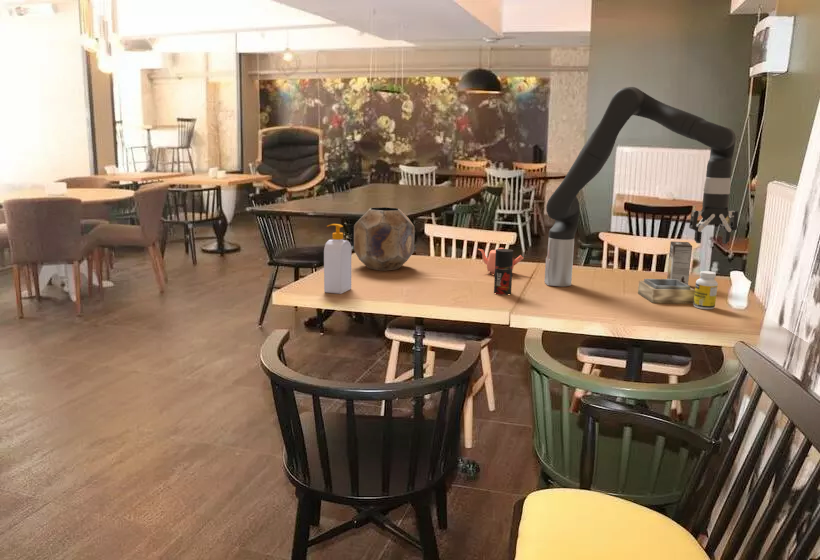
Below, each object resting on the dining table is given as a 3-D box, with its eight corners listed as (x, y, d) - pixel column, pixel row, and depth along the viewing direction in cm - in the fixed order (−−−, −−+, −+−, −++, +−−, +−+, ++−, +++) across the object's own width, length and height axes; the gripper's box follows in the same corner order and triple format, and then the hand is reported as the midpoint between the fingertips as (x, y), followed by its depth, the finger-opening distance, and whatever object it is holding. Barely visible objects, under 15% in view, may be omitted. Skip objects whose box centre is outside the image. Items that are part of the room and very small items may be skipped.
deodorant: (512, 292, 236) (514, 249, 233) (509, 295, 231) (511, 252, 228) (495, 290, 238) (497, 248, 235) (492, 294, 233) (494, 251, 229)
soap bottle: (333, 287, 239) (333, 222, 234) (351, 288, 237) (351, 223, 232) (322, 292, 230) (321, 225, 226) (340, 294, 228) (340, 226, 223)
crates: (652, 302, 224) (653, 286, 223) (637, 293, 238) (639, 277, 237) (694, 303, 225) (696, 287, 224) (677, 293, 238) (679, 278, 237)
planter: (413, 273, 265) (414, 212, 260) (351, 272, 265) (351, 211, 260) (413, 263, 286) (415, 206, 282) (356, 261, 287) (356, 205, 282)
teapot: (506, 269, 277) (507, 244, 275) (523, 274, 267) (525, 249, 265) (476, 272, 271) (477, 246, 268) (493, 277, 260) (494, 251, 258)
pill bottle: (689, 305, 223) (693, 270, 220) (708, 305, 223) (712, 270, 221) (699, 310, 216) (703, 274, 214) (718, 310, 217) (723, 274, 214)
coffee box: (665, 283, 256) (670, 241, 253) (683, 284, 255) (688, 241, 252) (669, 288, 247) (674, 244, 244) (688, 289, 246) (693, 245, 243)
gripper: (699, 192, 210) (694, 244, 213) (745, 193, 210) (739, 245, 213) (689, 191, 217) (684, 241, 220) (733, 191, 217) (728, 241, 220)
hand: (711, 243), depth 217 cm, fingers open, 8 cm apart
